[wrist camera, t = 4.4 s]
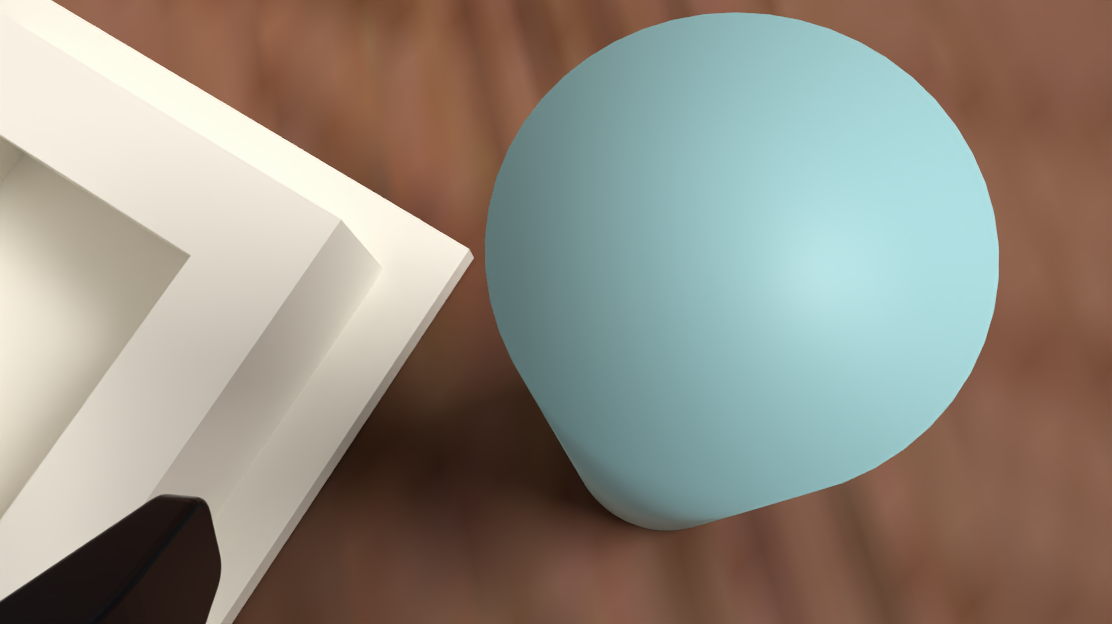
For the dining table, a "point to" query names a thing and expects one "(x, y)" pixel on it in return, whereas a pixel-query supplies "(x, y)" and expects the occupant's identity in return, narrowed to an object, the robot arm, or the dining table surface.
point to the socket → (181, 304)
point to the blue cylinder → (738, 264)
